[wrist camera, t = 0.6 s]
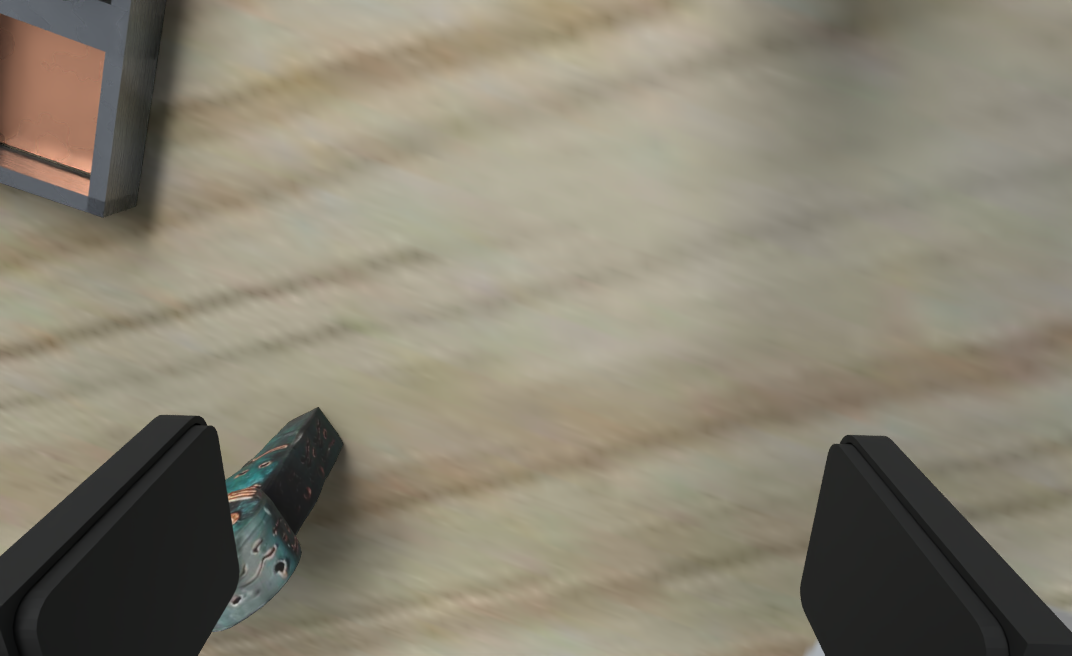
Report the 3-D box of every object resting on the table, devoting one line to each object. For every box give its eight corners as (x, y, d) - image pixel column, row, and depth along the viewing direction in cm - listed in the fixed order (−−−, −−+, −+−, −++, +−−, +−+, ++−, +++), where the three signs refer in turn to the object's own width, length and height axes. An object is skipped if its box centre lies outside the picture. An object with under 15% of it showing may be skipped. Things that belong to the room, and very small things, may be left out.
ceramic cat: (329, 384, 49) (193, 582, 30) (378, 453, 51) (279, 679, 32) (117, 491, 52) (-121, 727, 34) (171, 551, 54) (-26, 806, 36)
